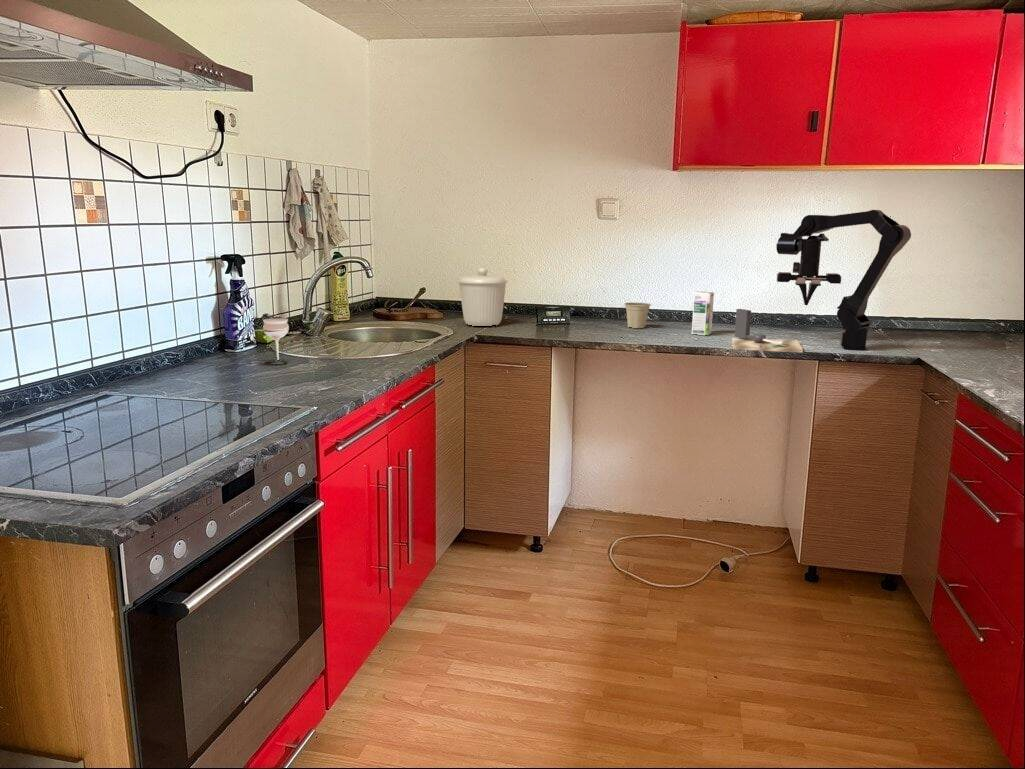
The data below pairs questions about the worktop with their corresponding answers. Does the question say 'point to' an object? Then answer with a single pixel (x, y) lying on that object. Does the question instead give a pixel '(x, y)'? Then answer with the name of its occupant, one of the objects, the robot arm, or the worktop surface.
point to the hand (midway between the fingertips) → (806, 305)
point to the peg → (748, 327)
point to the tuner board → (767, 345)
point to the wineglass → (276, 329)
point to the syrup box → (702, 313)
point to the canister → (482, 298)
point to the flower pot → (637, 314)
